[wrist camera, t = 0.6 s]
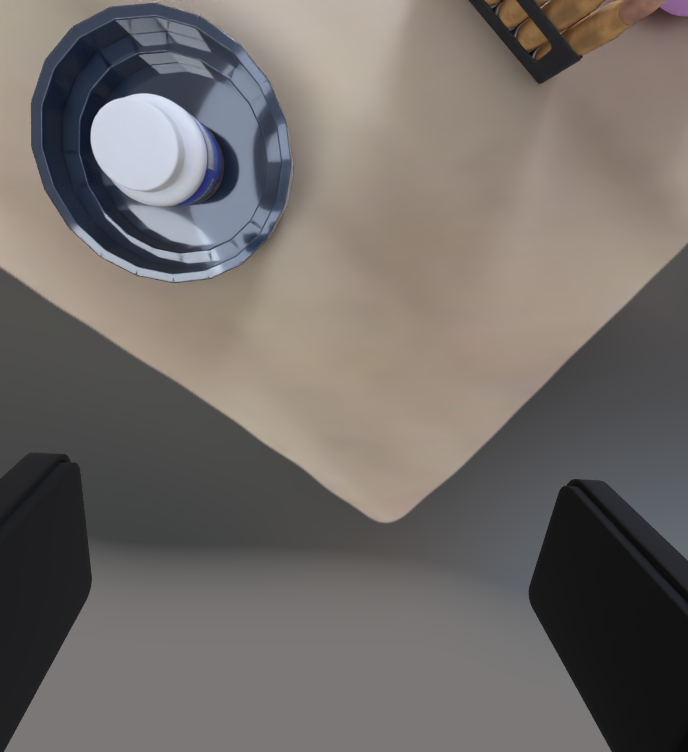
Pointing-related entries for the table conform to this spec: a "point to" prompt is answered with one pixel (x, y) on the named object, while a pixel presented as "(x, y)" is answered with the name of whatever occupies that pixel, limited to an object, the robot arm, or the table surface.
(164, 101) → the pill bottle
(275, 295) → the table surface
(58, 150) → the bowl
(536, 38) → the ammunition clip
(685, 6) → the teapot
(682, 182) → the table surface
